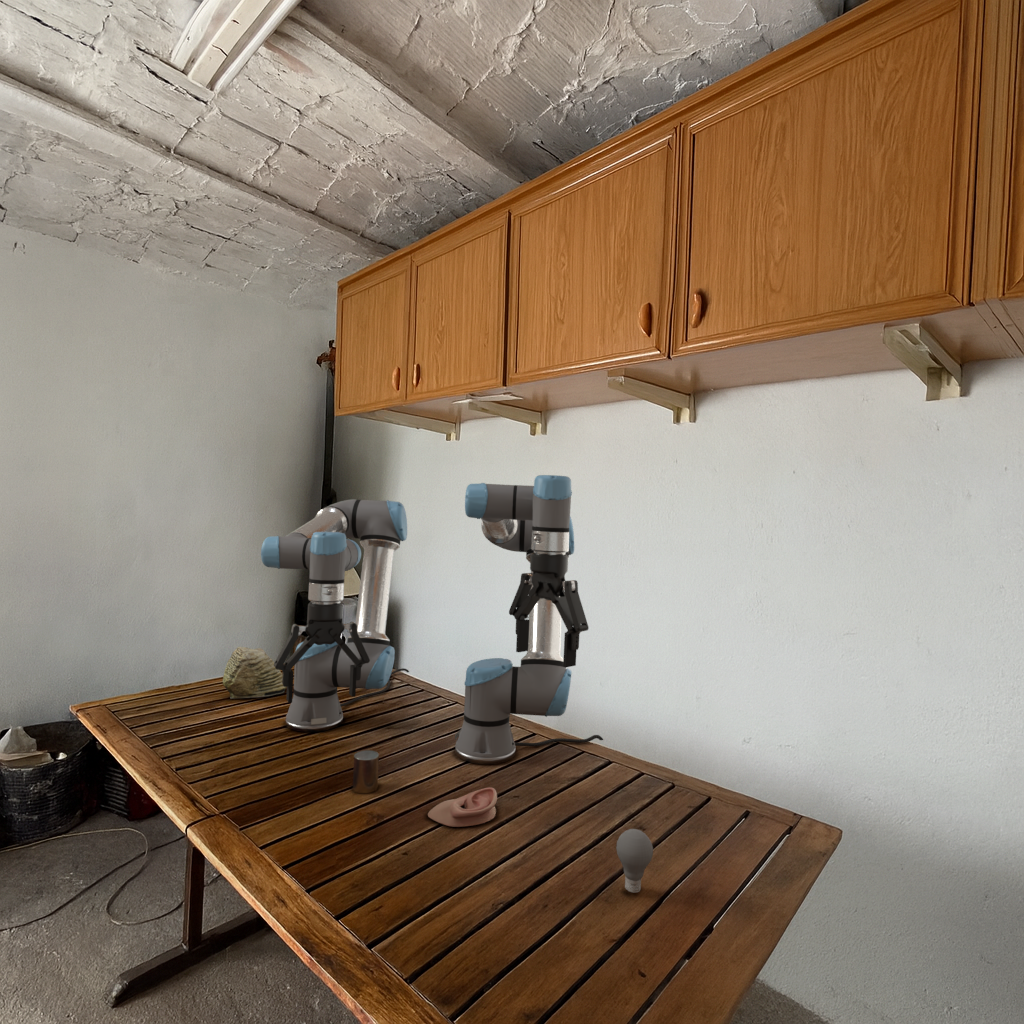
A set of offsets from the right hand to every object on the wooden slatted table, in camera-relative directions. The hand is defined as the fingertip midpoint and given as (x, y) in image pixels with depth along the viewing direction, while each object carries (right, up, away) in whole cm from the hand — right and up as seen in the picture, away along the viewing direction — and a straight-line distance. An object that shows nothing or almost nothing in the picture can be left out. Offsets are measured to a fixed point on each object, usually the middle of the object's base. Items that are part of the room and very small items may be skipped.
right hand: (544, 658), depth 127 cm
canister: (-39, -31, +12) cm, 51 cm away
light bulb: (+14, -34, -21) cm, 42 cm away
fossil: (-87, -28, +71) cm, 116 cm away
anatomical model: (-17, -32, +2) cm, 36 cm away
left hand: (-49, -12, +13) cm, 52 cm away
